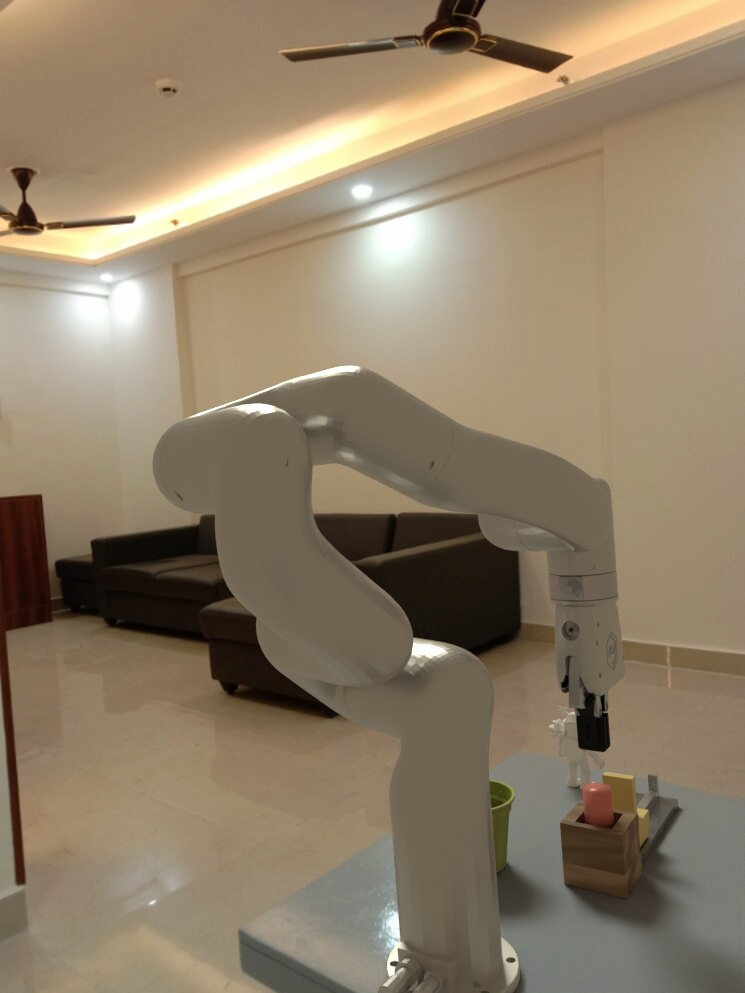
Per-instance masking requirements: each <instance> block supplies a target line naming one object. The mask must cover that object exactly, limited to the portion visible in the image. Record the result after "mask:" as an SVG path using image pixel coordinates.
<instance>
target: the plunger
mask: <svg viewBox="0 0 745 993" xmlns="http://www.w3.org/2000/svg"><path fill="white" fill-rule="evenodd" d="M582 798H583V799H582V800H583V802H582V803H584V817H585V824H589V825H594V826H599V827H605V828H610V829H612V828H613V827H614V815H613V801H612V788H611V787H610V786H609V785H607V784H603V782H594V783H589V784H586V785H584V786H583V790H582Z"/></svg>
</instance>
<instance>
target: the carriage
mask: <svg viewBox="0 0 745 993" xmlns="http://www.w3.org/2000/svg"><path fill="white" fill-rule="evenodd" d="M601 777H602V783H603V784H607V785H609V786H610V787H611V788H612V801H613V809H619V810H624V811H630V812H636V813H638V823H639V838H640V847H641V845H642V844H643V842H644V841H645V839H646V838H647V836H648V835H649V826H650V825H649V810H646V809H640V808H637V800H636V793H637V790H636V789H637V788H636V776H635V775H634V774H633V775H631V774H624V773H618V772H613V771H612V772H611V771H604V772H603V773H602V775H601Z"/></svg>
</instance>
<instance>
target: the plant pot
mask: <svg viewBox="0 0 745 993" xmlns="http://www.w3.org/2000/svg"><path fill="white" fill-rule="evenodd" d="M489 781H490V797H491V810H492V823H493V835H494V848H495V862H496V874H497V873H500V872H501V871H502V870H504V869H505V867H506V865H507V859H508V858H507V856H508V843H509V842H508V841H509V824H510V822H509V821H510V812H511V811H512V804H513V802H514V800H515V799H516V798H515V797H516V793H515V790H514V788H513V787H511V786H510V785H509V784H507V783H505V782H502V781H499V780H494V779H489Z"/></svg>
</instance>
